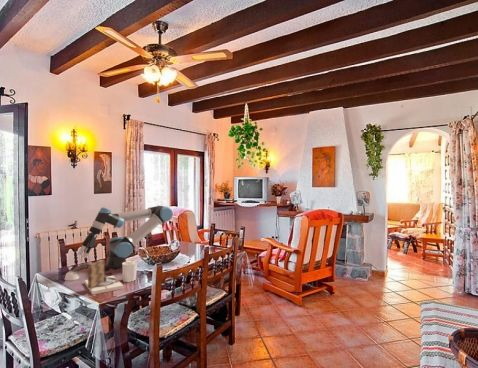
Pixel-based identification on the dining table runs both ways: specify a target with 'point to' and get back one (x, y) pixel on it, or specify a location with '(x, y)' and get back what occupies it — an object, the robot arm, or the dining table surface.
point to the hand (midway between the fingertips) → (81, 256)
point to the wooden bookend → (98, 275)
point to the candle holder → (129, 271)
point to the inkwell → (74, 273)
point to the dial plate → (105, 287)
